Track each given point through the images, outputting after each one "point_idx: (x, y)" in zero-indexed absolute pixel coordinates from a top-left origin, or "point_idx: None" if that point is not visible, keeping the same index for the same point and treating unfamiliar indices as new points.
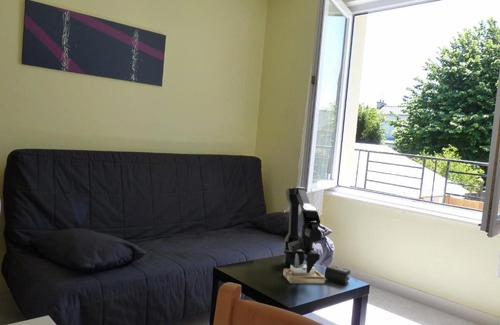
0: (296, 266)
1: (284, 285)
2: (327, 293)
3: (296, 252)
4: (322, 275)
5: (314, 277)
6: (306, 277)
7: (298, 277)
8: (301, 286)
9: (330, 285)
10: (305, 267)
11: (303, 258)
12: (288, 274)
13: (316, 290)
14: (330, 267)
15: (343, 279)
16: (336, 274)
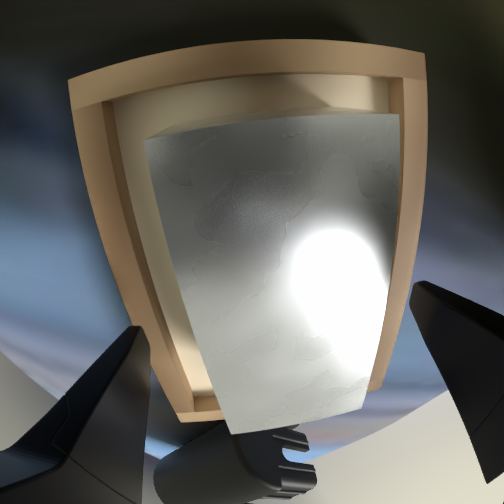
0: (273, 210)
1: (45, 22)
2: (8, 341)
3: None
4: (214, 417)
5: (151, 358)
6: (121, 284)
7: (91, 180)
8: (44, 188)
9: (154, 399)
10: (231, 357)
11: (461, 390)
12: (203, 48)
13: (15, 294)
14: (246, 494)
15: (157, 470)
16: (182, 477)
